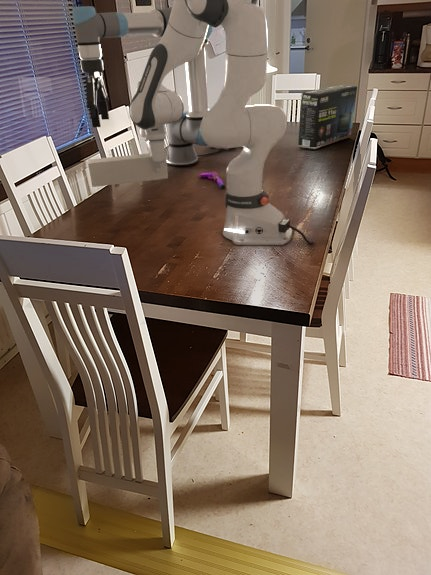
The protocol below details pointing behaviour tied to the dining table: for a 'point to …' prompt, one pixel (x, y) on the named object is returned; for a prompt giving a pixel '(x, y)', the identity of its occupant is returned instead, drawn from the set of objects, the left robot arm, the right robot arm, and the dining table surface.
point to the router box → (326, 115)
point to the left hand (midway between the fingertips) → (101, 123)
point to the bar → (125, 170)
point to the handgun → (213, 176)
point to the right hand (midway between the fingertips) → (157, 169)
